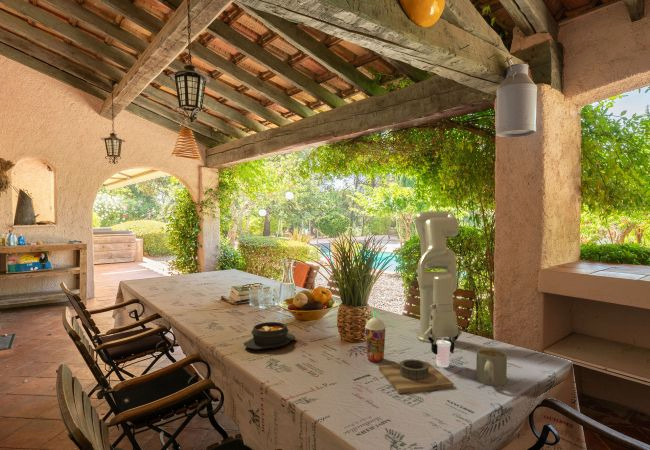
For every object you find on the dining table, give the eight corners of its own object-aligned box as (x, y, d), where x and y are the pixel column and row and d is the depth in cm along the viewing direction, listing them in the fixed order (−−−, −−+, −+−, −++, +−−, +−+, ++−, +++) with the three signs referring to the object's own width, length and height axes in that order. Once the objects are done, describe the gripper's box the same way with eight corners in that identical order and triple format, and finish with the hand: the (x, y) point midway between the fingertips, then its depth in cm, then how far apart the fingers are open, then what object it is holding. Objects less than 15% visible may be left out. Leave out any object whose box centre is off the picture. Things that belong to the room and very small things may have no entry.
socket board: (378, 369, 152) (378, 356, 151) (427, 365, 156) (427, 352, 155) (398, 393, 132) (398, 378, 132) (453, 387, 136) (453, 373, 136)
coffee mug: (483, 371, 149) (483, 345, 149) (510, 379, 142) (510, 351, 142) (467, 383, 139) (467, 355, 139) (496, 392, 133) (496, 362, 132)
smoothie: (369, 364, 157) (369, 314, 156) (362, 357, 165) (361, 309, 164) (389, 362, 159) (389, 312, 158) (380, 355, 167) (380, 307, 166)
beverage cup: (440, 368, 152) (440, 332, 151) (431, 363, 158) (431, 328, 157) (454, 367, 154) (454, 331, 153) (445, 361, 159) (445, 326, 159)
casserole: (259, 357, 166) (259, 337, 166) (235, 346, 179) (235, 328, 179) (304, 342, 184) (304, 324, 183) (279, 334, 197) (278, 317, 196)
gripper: (426, 310, 149) (426, 357, 150) (468, 308, 153) (468, 354, 154) (418, 306, 157) (418, 350, 158) (458, 303, 160) (457, 347, 161)
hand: (442, 352), depth 156 cm, fingers closed on beverage cup, 6 cm apart
